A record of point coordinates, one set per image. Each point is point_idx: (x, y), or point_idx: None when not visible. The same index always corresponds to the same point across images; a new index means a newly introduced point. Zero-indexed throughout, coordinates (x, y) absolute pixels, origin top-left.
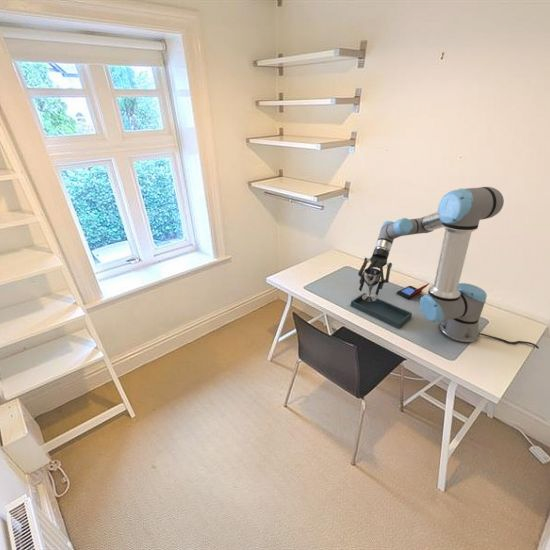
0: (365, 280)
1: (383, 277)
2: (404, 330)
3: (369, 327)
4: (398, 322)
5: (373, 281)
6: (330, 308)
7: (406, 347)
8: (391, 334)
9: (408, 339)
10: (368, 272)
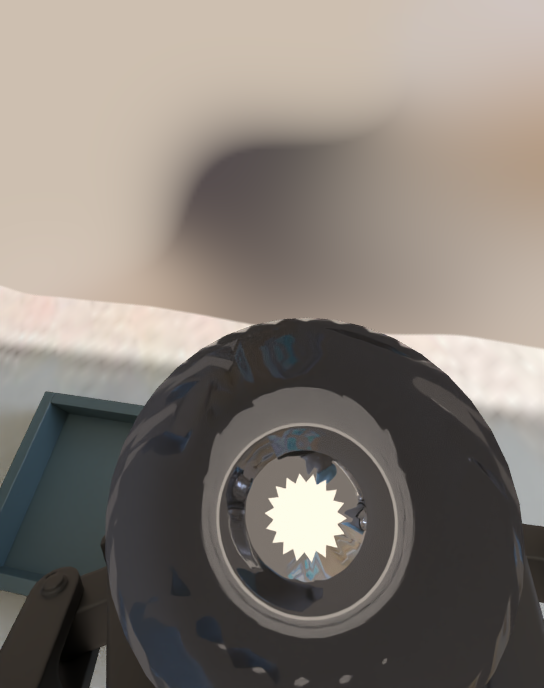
0: (360, 405)
1: (107, 614)
2: (35, 411)
3: (210, 326)
4: (52, 399)
5: (234, 398)
6: (487, 350)
7: (25, 298)
8: (97, 340)
9: (15, 353)
10: (446, 625)
